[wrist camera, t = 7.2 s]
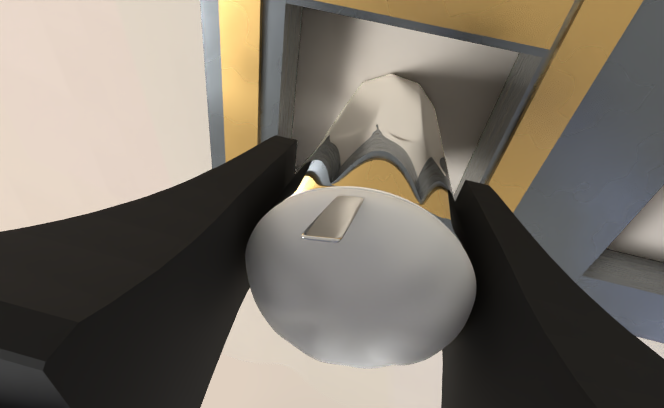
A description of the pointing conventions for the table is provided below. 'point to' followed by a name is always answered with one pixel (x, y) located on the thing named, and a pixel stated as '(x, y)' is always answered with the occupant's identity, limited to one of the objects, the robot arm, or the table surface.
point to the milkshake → (367, 238)
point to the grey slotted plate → (499, 116)
